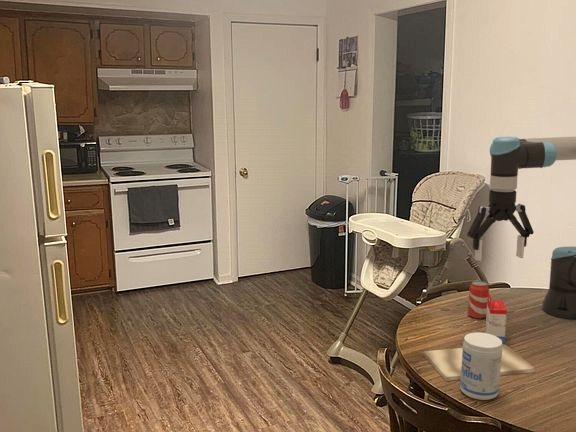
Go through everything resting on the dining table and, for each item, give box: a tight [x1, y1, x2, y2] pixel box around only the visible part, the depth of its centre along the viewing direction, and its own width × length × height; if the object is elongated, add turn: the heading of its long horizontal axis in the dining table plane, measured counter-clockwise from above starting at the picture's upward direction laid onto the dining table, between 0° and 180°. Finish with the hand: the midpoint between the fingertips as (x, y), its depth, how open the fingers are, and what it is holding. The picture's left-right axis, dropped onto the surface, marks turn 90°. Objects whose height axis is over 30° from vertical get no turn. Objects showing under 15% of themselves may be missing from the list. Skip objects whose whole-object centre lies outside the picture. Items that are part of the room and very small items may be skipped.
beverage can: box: [467, 280, 490, 320], centre depth 199 cm, size 6×6×12 cm
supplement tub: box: [459, 332, 502, 401], centre depth 149 cm, size 10×10×15 cm
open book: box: [422, 343, 536, 382], centre depth 166 cm, size 26×16×2 cm, turn 99°
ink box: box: [484, 290, 508, 345], centre depth 180 cm, size 8×5×15 cm, turn 168°
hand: (498, 258), depth 176 cm, fingers open, 13 cm apart
